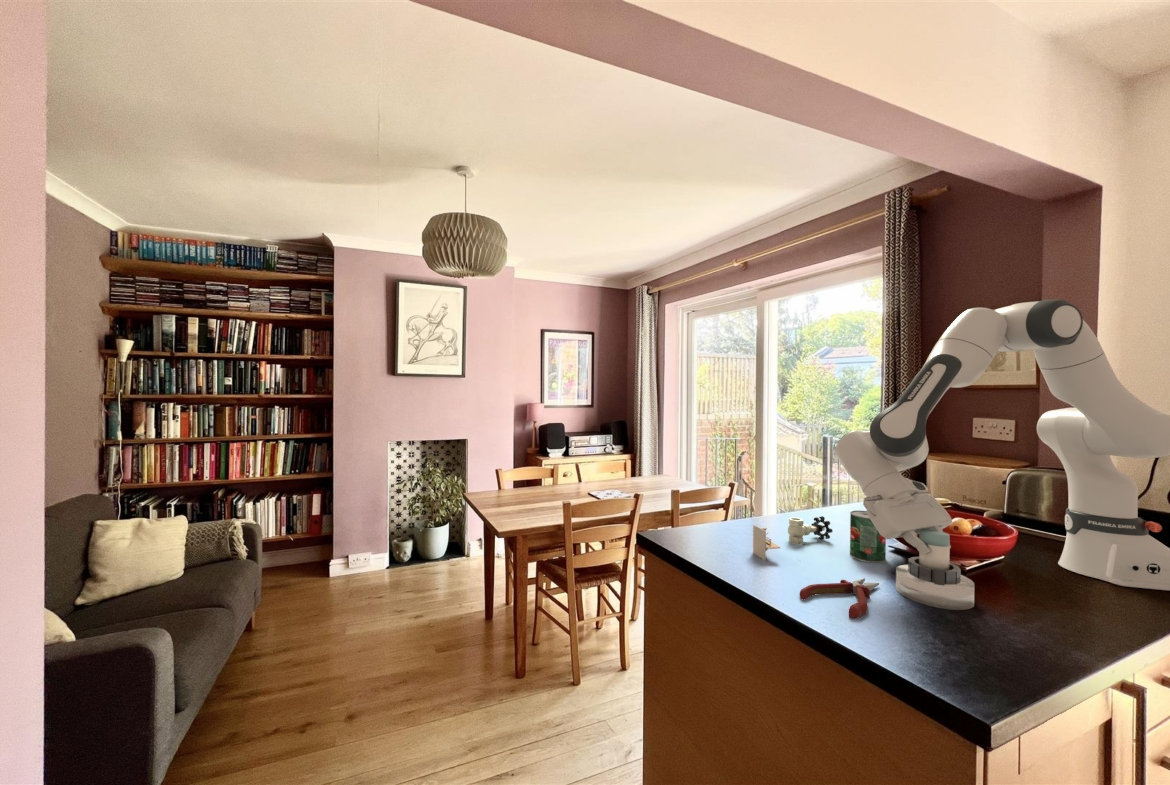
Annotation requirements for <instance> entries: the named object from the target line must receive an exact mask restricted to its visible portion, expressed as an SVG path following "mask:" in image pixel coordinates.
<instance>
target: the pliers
mask: <svg viewBox="0 0 1170 785" xmlns="http://www.w3.org/2000/svg"><path fill="white" fill-rule="evenodd" d="M865 581H866V578H865V577H864V578H861V579H860V578H859V579H856V580H853V581H852V582H851V581H848V580H846V579H841V580H840V582H835V583H832V582H831V583H814V584H809V585H807V586H805V587H803V588H802V589H800V592H799V598H800V599H801V600H802V599H803V601H805V600H807V599H808V597H809V598H811V597H813V596H812V595H814V596H816V595H815V594H820V595H838V594H839V595H842V594H855V597H856V601H857V602H856V603H853V604H852V605H850V606H849V608H848V618H850V619H859V618H861V617H862V616H864V615H866V614H867V612H868V609H869V608H868V607H869V606H868V602H867V599H870V598H871V591H872V590H874V589H875V588H877V587H878V586H880V583H879V582H868V581H867V582H865ZM810 596H811V597H810ZM806 598H807V599H806ZM804 599H805V600H804Z"/></svg>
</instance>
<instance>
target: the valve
mask: <svg viewBox="0 0 1170 785" xmlns="http://www.w3.org/2000/svg"><path fill="white" fill-rule="evenodd" d="M825 519H826V518H825V516H824V515H823V516H819V517H814V518H813V521H814V522H813V523H811V524H810V525H808V524H806V523H805V524H804V519H803V518H799V517H789V518H788V527H787V533H788V542H789V543H790V544H794V545H803V544H804V537H805V536H809V535H810V534H811V533H813V535H815V536H819V537H818V538H819V539H818V540H822V539H823V540H825V539H826V540H829V539H830V538H831V535H830V534H831V533H833V529H832V528H830V527H829V526H830V525H831V521H829V520H825ZM820 523H822V524H820ZM823 531H825V532H824V533H822V532H823Z"/></svg>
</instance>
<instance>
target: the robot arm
mask: <svg viewBox="0 0 1170 785" xmlns="http://www.w3.org/2000/svg"><path fill="white" fill-rule="evenodd" d="M1030 350H1032V351H1033V354H1034V358H1035V360H1036V363H1037V365H1038V367H1039V370H1040V372H1041V374H1042V376H1043V378H1044V381H1045V382H1046V384H1047V387H1048V389H1049V392H1050V394H1052V396H1053V397H1055V398H1056V399H1057V400H1059V401H1060V402H1064V403H1066V404H1068V405H1070V406H1072V407H1065V408H1059V409H1051V410H1048V411H1046V412H1044V413H1043V414H1042V415H1041V416H1040V417H1039V419H1038V421H1037V424H1036V433H1037V436H1038V438H1039V439H1040V441H1041V442H1042V443H1044V444H1045V445H1046V446H1048V448H1050V449H1051V450H1052V451H1053V452H1054V453H1055V455H1056V456H1057V457H1058V459H1059V461H1060V462H1061V465H1062V467H1063V468H1064V471H1065V474H1066V479H1067V492H1068V493H1067V494H1068V503H1067V504H1068V505H1067V506H1068V507H1066V508H1065V515H1064V526H1065V527H1064V528H1065V531H1066V536H1065V542H1064V545H1063V549H1062V553H1061V555H1060V558H1059V560H1058V562H1057V564H1058V565H1059V566H1060V567H1062V568H1063V569H1066V570H1068V571H1070V572H1074V573H1076V574H1078V575H1083V576H1086V577H1091V578H1094V579H1099V580H1101V581H1105V582H1109V583H1111V584H1114V585H1117V586H1121V587H1130V588H1141V589H1149V590H1150V589H1151V590H1161V591H1170V547H1168V546H1166V545H1165V544H1163V543H1162V542H1160V541H1159V540H1157V539H1156V538H1154V537H1153V536H1151V535H1150V534H1149V531H1151V532H1153V533H1159V532H1161V531H1162V529H1163V527H1162V525H1161V524H1160V523H1158V522H1154V521H1151V520H1150V521H1147V520H1145V519H1143V518H1142V517H1139V516H1138V514H1139V512H1138V510H1139V506H1138V505H1139V504H1138V502H1139V487H1138V485H1137V483H1136V481H1135V480H1134V479H1133V478H1132V477H1130V476H1128V475H1127V474H1125V473H1124V472H1122V471H1120V470H1119V469H1118V468H1117V467H1116V466H1115V464H1114V463H1113V461H1112V458H1111V456H1113V457H1120V458H1121V457H1122V458H1130V459H1150V458H1151V459H1153V458H1166V457H1169V456H1170V414H1167V413H1165V412H1162V411H1159V410H1157V409H1156V408H1154V407H1151V406H1150V405H1148V404H1147V403H1145V402H1143V400H1141V399H1139V398H1138V397H1137V396H1135V395H1134V394H1133V393H1132V392H1131V391H1129V390H1128V388H1126V387H1125V386H1124V385H1123V384H1122V383H1121V381H1120V379H1118V377H1117V375H1116V373H1115V371H1114V370H1113V368H1112V366H1111V364H1110V361H1109V359H1108V358H1107V356H1106V354H1105V351H1104V349H1103V347H1102V345H1101V343H1100V341H1099V339H1098V338H1097V336H1096V334H1095V332H1094V331H1093V330H1092V329H1091V327H1090V326H1089V324H1088V323H1087V322H1086V321H1085V319H1083V314H1082V312H1081V310H1080V309H1079V308H1078V307H1077V306H1076V305H1075V304H1073V302H1070V301H1068V300H1064V299H1056V298H1054V299H1049V298H1048V299H1043V300H1040V301H1038V300H1037V301H1028V302H1027V301H1026V302H1019V303H1014V304H1011V305H1008V306H1007V305H1006V306H1003V307H999V308H996V309H995V308H994V309H991V308H988V307H972V308H969V309H966V310H964V311H963V312H962V313H960V314H959V315H958V316H957V317H956V318H955V319H954V320H953V321H952V322H951V324H950V325H949V326H948V327H947V329H945V331H943V333H942V335H941V336H940V337H939V339H938V341H937V342H936V343H935V345H934V346H933V348H932V350H931V352H929V355H928V356H927V359H926V361H925V363H924V364H923V365H922V368H920V370H919V371H918V372H917V374H916V375H915V377H913V379H912V381H911V382H910V383H909V384H908V386H907V387H906V389H905V390H904V391H903V392H902V393H901V395H900V396H899V398H898V399H897V400H895V402H894V403H892V404H891V405H890V406H888V407H887V408H885V409H884V410H882V411H880V412H879V413H878V414H877V415H876V416H875V417H874V418H873V420H871V423H870V426H869V430H857V429H854V430H851V431H849V432H847V433H846V434H844V435H843V436H842V437H841V438H840V439H839V440H838V442H837V444H836V446H835V455H836V457H837V459H838V461H839V463H840V465H841V466H842V467H843V469H844V470H845V472H846V473H847V474H848V475H849V476H850V478H851V479H852V480H853V481H855V482H856V483H857V484H858V485H859V488H860V489H861V492H862V493H863V494H864V496H865V497H864V498H863V503H862V505H863V507H864V508H865V510H866V511H867V514H868V516H869V518H870V520H871V521H872V523H873V525H874V526H875V528H876V529H877V531H878V532H879V533H880V535H881V536H883V537H884V538H886V540H891V539H897V538H903V539H904V540H905V541H906V543H908V544H909V545H911V546H912V547H913V548H915V549H917V551H918V553H919V552H920V553H921V554H922V555H926V554H929V553H931V552H932V548H931V547H930V546H929V545H928V544H927V543H924V542H923V541H921V540H920V537H918V535H920V530H925V529H926V530H936V531H941V532H944V529H945V528H947V527H949V526H950V525H951V524H952V523H953V520H952V517H951V515H950V514H949V513H948V511H947V510H946V509H945V507H943V505H942V504H941V503H940V502H939V501H938V499H936V498H935V496H933V495H932V494H930V493H928V492H929V488H928V487H927V485H925V483H923V482H920V481H916V480H913V479H911V478H907V477H904V476H903V475H902V474H901V472H904V471H906V470H910V469H913V468H915V467H918V466H919V465H921V464H923V463H924V462H925V461H926V459H927V457H928V456H929V451H930V448H929V443H928V439H927V428H926V427H927V422H928V421H927V420H928V418H929V415H930V414H931V413H932V412H933V410H934V408H935V407H936V405H938V403H939V402H940V400H941V399H942V397H944V395H945V393H947V391H948V390H949V389H950V388H965V387H969V386H972V385H973V384H974V383H975V382H976V381H978V379H979V378H981V376H982V375H983V374H984V373H985V372H986V370H988V367H989V366H990V365H991V363H992V362H993V360H994V358H995V357H996V354H997V353H999V352H1000V353H1001V352H1004V353H1011V352H1012V353H1014V352H1017V353H1018V352H1025V351H1030ZM951 548H952V546H951V544H950V549H951Z"/></svg>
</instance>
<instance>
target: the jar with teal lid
mask: <svg viewBox="0 0 1170 785" xmlns="http://www.w3.org/2000/svg"><path fill="white" fill-rule="evenodd" d="M950 536H951V535H950V534H949V533H947V532H944V531H943V532H941V531H936V530H926V529H925V530H920V534H919V539H920V540H921V541H923V542H924V543H927V544H928V545H929V546H930V547H931V548H932V552H931V553H929V554H926V555H922V554H921V553H920V552H919V551H918V553H919V556H918V557H919V565H922V566H925V567H928V568H932V569H934V568H939V569H944V570H949V562H950V555H951V553H950V551H951V550H950V549H951V548H950V545H951V543H950V542H951V541H950V538H951V537H950Z"/></svg>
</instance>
